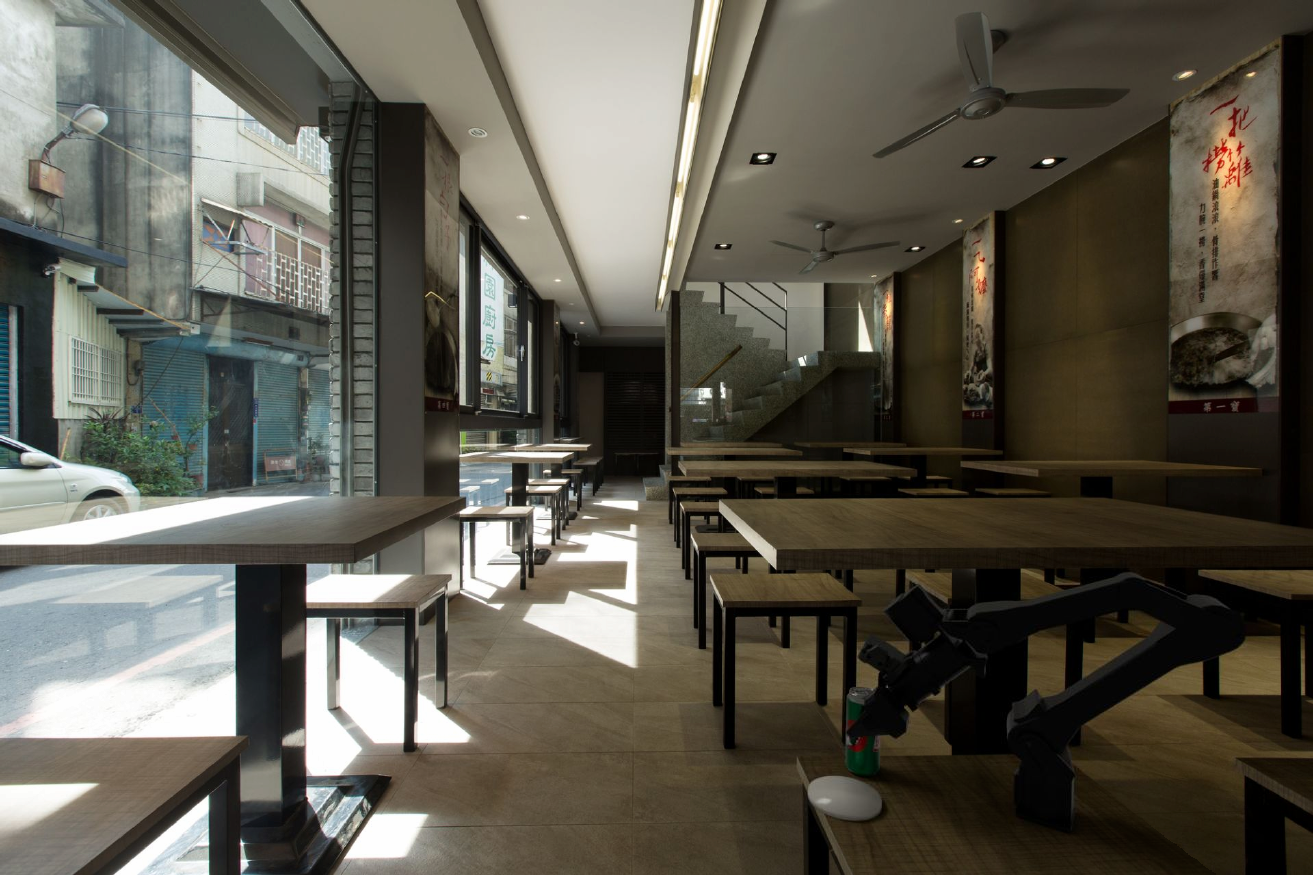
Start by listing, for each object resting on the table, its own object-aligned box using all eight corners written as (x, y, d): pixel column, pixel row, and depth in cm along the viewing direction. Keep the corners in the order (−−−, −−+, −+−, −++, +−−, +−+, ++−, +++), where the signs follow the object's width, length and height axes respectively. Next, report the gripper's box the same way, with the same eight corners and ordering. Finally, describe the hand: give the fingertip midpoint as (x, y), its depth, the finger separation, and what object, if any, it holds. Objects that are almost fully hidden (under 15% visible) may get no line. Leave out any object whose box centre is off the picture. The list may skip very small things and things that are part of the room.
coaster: (891, 797, 94) (891, 791, 94) (867, 830, 86) (867, 824, 86) (824, 774, 100) (824, 768, 100) (796, 803, 92) (796, 797, 92)
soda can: (881, 780, 99) (883, 700, 99) (846, 776, 100) (848, 696, 100) (877, 763, 104) (879, 687, 104) (843, 759, 105) (845, 684, 105)
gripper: (901, 607, 108) (831, 663, 113) (882, 638, 92) (801, 701, 97) (953, 664, 105) (878, 719, 110) (942, 707, 88) (855, 768, 93)
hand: (853, 724), depth 103 cm, fingers open, 8 cm apart
